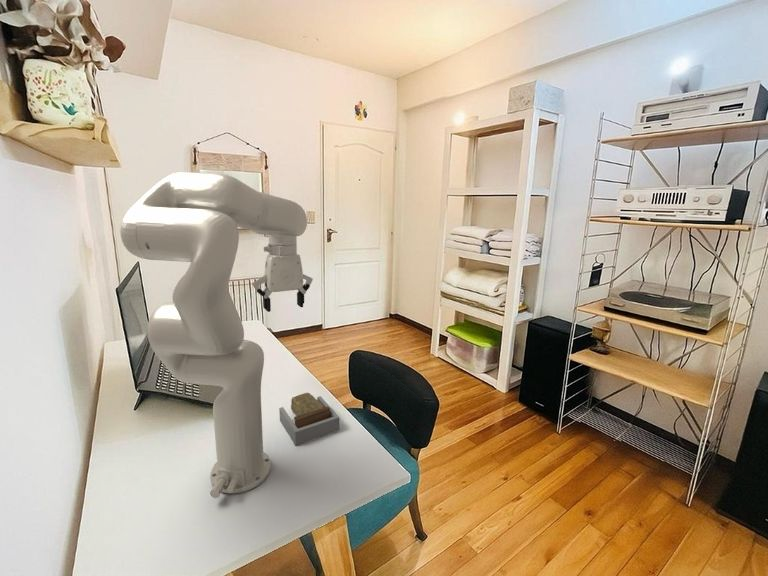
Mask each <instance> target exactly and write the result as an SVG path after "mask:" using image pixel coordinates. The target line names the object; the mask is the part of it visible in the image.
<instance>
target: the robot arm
mask: <svg viewBox="0 0 768 576" xmlns="http://www.w3.org/2000/svg"><path fill="white" fill-rule="evenodd" d="M305 211H306V210H304V208H303V207H302V206H301V205H300V204H298V203H297V202H296V201H292V200H290V199H287V198H286V199H285V198H282V197H279V196H275V195H272V194H269V193H266V192H261V191H258V190H256V189H254V188H252V187H251V186H249V185H247V184H246V183H244V182H243V181H241V180H239V179H238V178H237V177H236V178H235V177H234V176H232V175H228V174H224V173H215V172H214V173H212V172H197V171H196V172H193V171H178V172H173V173H171V174H169V175H168V176H165V177H164V178H163V179H161V180H160V181H158V182H157V183H156V184H155V185H154V186H153V187H152V188H150V189H149V190H148V191H147V192H146V193H145V194H144V195H143V196H142V197H141V198H140V199H138V201H136V202H135V203H134V204H133V205H132V206H131V207H130V208H129V209H128V210H127V212H126V213H125V215H124V217H123V218H122V221H121V224H120V230H119V232H120V239H121V242H122V244H123V246H124V247H125V249H126V250H127V251H128V252H129V253H130V254H131V255H133V256H135V257H137V258H139V259H143V260H148V261H149V260H150V261H167V262H181V263H183V262H186V263H187V262H188V263H190V264H189V267H188V268H187V270H186V271H185V273H184V275H183V276H182V277H181V278H180V279H179V281H178V282H177V283H176V286H175V287H174V290H173V291H172V302H171V301H170V302H167V303H164V304H162V305H160V306H158V307H157V308H156V309H154V311H153V312H152V313H151V315H150V317H149V319H148V322H147V338H148V342H149V346H150V348H151V350H153V352H154V353H155V355H156V356H157V357H158V359H159V360H160V361H161V363H163V365H164V366H165V368H167V370H168V371H169V373H171V375H172V376H173V377H174V378H175V379H176V380H177V381H180V382H182V383H183V384H184V383H185V384H191V385H203V386H204V385H206V386H216V387H221V388H222V390H221V391H220V393H219V394H217V396H216V398H215V399H214V401H213V405H212V406H213V407H212V416H213V427H214V429H213V430H214V439H215V441H214V442H215V449H216V450H215V452H216V463H214V465H213V467H212V468H211V469H210V470H211V471H210V483H211V485H212V488H211V490H210V491H209V495H210V496H211V498H214V499H216V498H217V499H218V498H219V496H221V494H222V493H224V494H240V493H245V492H247V491H250V490H252V489H254V488H256V487H258V486H260V485H261V484H262V483H263V482H264V481H265V480H266V479H267V478H268V476H269V475H270V473H271V468H272V460H271V458H270V455H269V454H268V453H266V452H265V451H264V442H263V441H264V439H263V438H264V437H263V435H264V434H263V417H262V416H263V415H262V414H263V412H262V411H263V410H262V381H263V380H262V379H263V370H264V365H265V364H264V363H265V355H264V350H263V348H262V346H261V345H259V344H258V343H257V342H254V341H252V340H247V339H244V338H245V330H244V326H243V322H242V320H241V317H240V315H239V313H238V310H237V308H236V305H235V304H234V301H233V298H232V296H231V294H230V293H231V292H230V290H229V289H230V288H229V284H230V280H231V279H230V278H231V275H232V271H233V268H234V263H235V261H236V258H237V257H236V256H237V252H238V248H239V241H240V233H239V228H241V229H244V230H249V231H252V232H253V233H255V234H258V235H265V236H268V244H267V246H264V247H263V252H265V253H268V254H267V255H266V259H265V266H264V275H263V276H261V277H260V278H258V279H257V280H255V281H253V282H252V283H251V285H252V287H253V288H254V289H255V292H256V293H258V294H259V295H260V296H261V297H262V307H263V309H264V310H265V311H267V313H270V312H272V309H271V307H272V306H271V297H270V295H272V293H279V292H281V293H282V292H289V291H297V292H296V305H298V307H300V308H304V304H305V295H306V293H307V291H308V290H309V289H310V287H311V284H312V282H313V278H312V277H310V276H308V275H306V274H304V272H303V271H304V270H303V265H302V259H301V255H300V254H298V253H297V252H298V249H297V248H298V246H297V240H298V239H297V237H300V236H302V235H303V234H304V233H305V231H306V229H307V228H308V227H307V225H308V217H307V214H306V212H305ZM304 280H305V283H304ZM263 284H264V287H265V288H264V289H263V290H262V288H261V285H263Z"/></svg>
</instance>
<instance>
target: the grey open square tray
mask: <svg viewBox="0 0 768 576" xmlns="http://www.w3.org/2000/svg"><path fill="white" fill-rule="evenodd" d="M316 400H318V401H319V402H320V403H321V404H322V405H324V406H325V407H329V408H330V418H328V419H325V420H322V421H319V422H316V423H313V424H310V425H307V426H304V427H301V428H297V427H296V425H295V422H294V421H293V419H292V418H291V416H289V414H288V412H287V411H286V409H285V408H284V407H283V406H281V407H279V410H278V411H279V422H280V424H281V426H282V427H283V428H284V430H285V432H286V433H287V435H288V436H289V437H290V441H292V442H293V444H294V446H295V447H297V446H300V445H302V444H305V443H307V442H312V441H313V440H317V439H320V438H322V437H326V436H327V435H330V434H332V433H333V434H334V433H336V432H339V431H340V420H341V419H340V416H339V415H338V414H337V413H336V412H335V410H334V409H333V408H332V407H331V405H329V404H328V402H327V401H325V399H324V398H323V397H322V396H321V395H319V396H317V399H316Z"/></svg>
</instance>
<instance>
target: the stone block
mask: <svg viewBox="0 0 768 576" xmlns="http://www.w3.org/2000/svg"><path fill="white" fill-rule="evenodd" d="M290 400H291V401H290V402H291V403H290V404H291V405H290V410H291V412H292V413H294V415H295V417H296V416H299V415H302V414H305V413H309V412H312V411H315V410H318V409H321V408H324V407H325V406H324V405H322V404H321V403H320V402H319V401H318V400H317V399H316V397H315V396H314V395H313V394H311V393H310V392H304V393H301V394H298V395H296V396H292V397H291V399H290Z"/></svg>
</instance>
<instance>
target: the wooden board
mask: <svg viewBox="0 0 768 576" xmlns="http://www.w3.org/2000/svg"><path fill="white" fill-rule="evenodd" d="M293 418H294V421H293V422H294V424H295V425H296V427H297V428H301V427H304V426H307V425H310V424H313V423H316V422H319V421H322V420H325V419H328V418H330V408H329V407H324V408H321V409H318V410H315V411H312V412H309V413H305V414H302V415H299V416H296V415H295V416H293Z"/></svg>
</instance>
